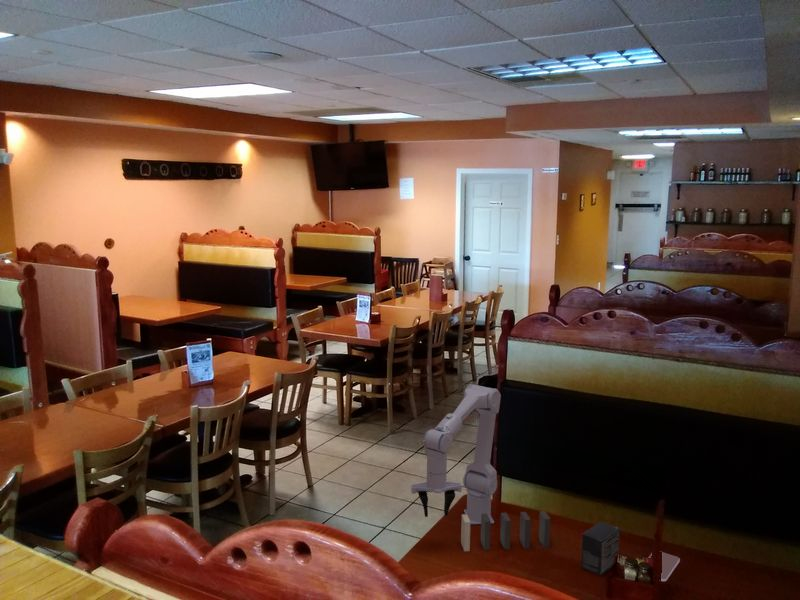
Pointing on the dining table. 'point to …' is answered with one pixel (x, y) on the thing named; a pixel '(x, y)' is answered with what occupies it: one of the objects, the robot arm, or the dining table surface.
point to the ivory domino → (465, 532)
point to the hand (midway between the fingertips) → (435, 514)
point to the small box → (600, 547)
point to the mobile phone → (668, 565)
